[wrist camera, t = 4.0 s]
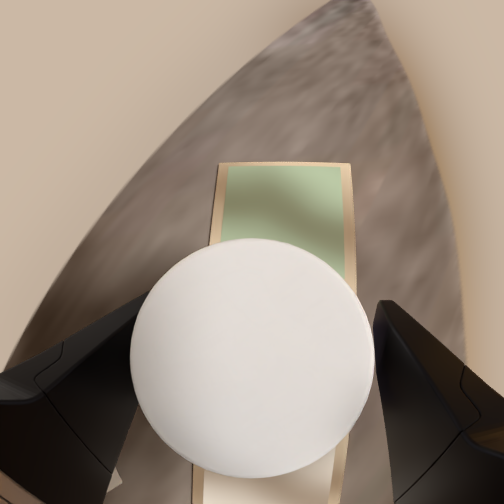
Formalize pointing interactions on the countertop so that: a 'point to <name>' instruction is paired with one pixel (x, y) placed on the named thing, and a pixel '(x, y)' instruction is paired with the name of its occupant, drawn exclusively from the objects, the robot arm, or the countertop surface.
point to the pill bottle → (252, 358)
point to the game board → (313, 241)
